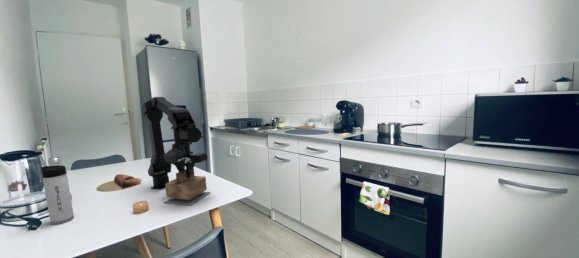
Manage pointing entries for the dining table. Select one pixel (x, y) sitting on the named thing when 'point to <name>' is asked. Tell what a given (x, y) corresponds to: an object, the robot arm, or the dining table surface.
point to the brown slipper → (126, 180)
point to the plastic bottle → (55, 162)
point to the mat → (187, 202)
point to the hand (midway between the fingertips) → (185, 177)
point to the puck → (140, 207)
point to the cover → (185, 186)
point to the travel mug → (57, 194)
